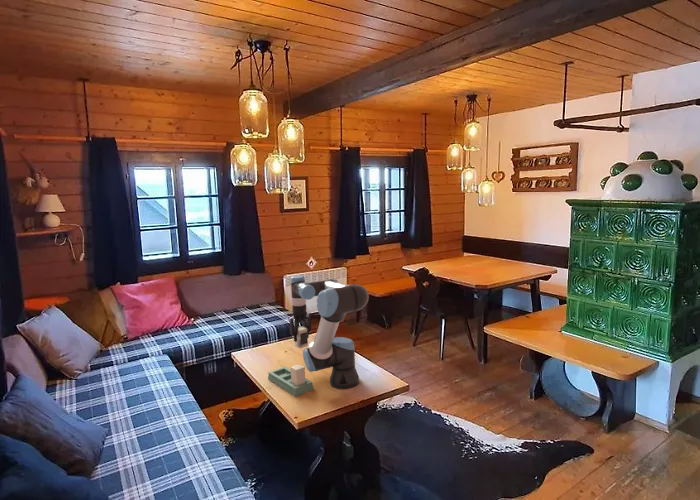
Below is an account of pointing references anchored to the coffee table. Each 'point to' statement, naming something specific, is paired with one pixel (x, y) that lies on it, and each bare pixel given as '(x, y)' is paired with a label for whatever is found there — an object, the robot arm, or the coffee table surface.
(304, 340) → the block
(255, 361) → the coffee table surface
